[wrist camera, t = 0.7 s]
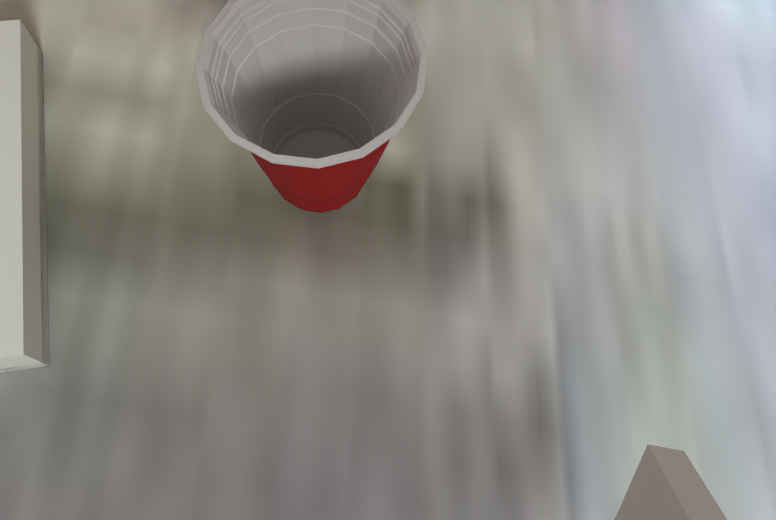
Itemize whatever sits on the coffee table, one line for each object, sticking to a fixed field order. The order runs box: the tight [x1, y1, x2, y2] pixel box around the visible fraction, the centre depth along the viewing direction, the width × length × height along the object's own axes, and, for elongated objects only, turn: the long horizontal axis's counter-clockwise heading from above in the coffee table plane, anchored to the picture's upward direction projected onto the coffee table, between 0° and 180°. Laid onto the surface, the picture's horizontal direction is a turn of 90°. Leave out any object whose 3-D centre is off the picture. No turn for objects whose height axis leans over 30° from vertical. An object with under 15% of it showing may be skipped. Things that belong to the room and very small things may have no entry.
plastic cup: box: [195, 0, 428, 212], centre depth 38 cm, size 11×11×12 cm
